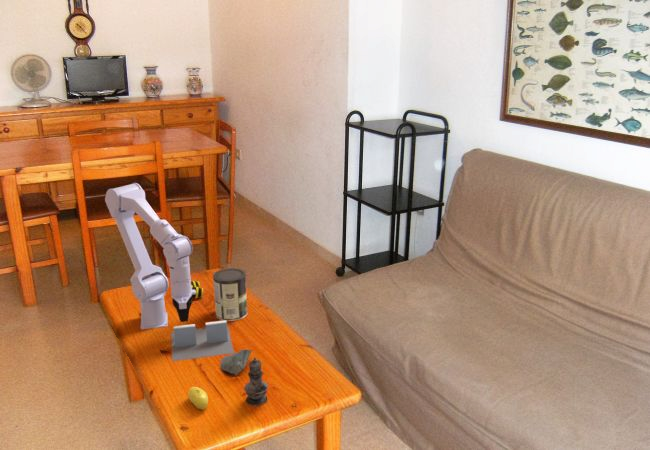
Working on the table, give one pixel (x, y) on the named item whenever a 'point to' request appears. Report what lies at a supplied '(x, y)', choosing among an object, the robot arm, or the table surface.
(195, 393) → the lemon
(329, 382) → the table surface
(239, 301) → the coffee can
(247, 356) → the stone
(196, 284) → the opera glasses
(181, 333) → the tile
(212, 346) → the mat
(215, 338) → the tile
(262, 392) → the dark chess piece
